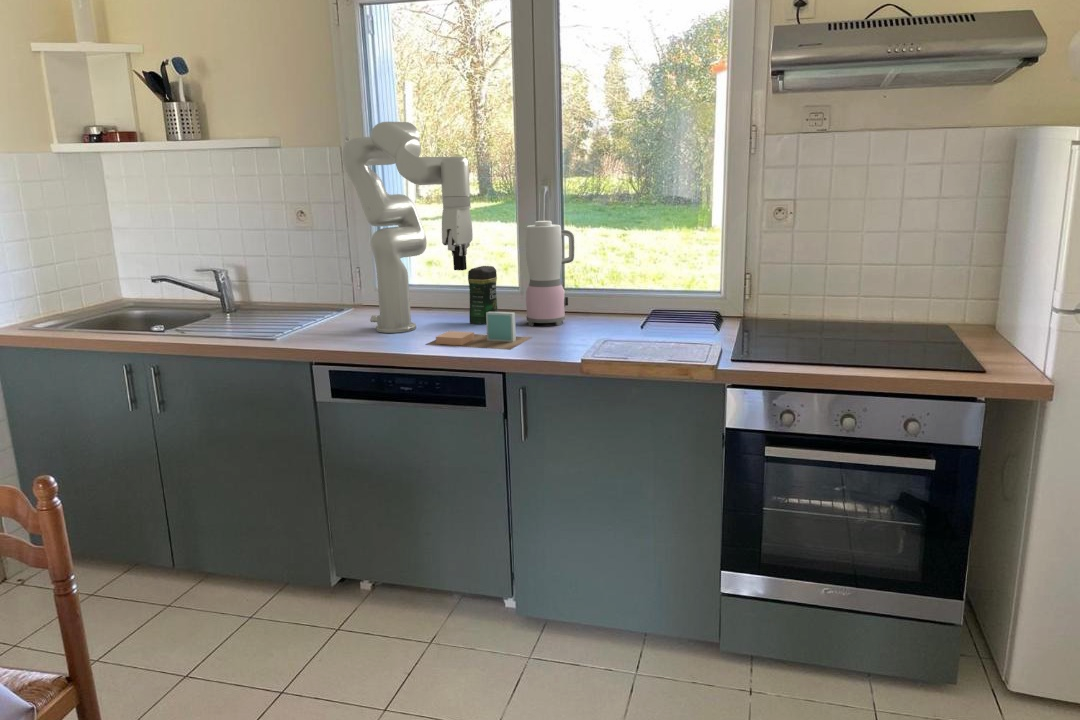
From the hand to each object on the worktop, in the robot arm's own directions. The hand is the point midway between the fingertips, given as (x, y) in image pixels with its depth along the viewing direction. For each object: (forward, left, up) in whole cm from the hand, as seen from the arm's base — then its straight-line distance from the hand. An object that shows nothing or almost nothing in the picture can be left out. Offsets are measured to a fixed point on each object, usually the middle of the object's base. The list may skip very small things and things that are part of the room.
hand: (460, 269), depth 228 cm
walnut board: (+4, +1, -21) cm, 22 cm away
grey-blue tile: (+10, +3, -20) cm, 23 cm away
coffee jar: (-7, +28, -22) cm, 36 cm away
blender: (+13, +35, -21) cm, 43 cm away
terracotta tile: (-2, +2, -19) cm, 19 cm away
